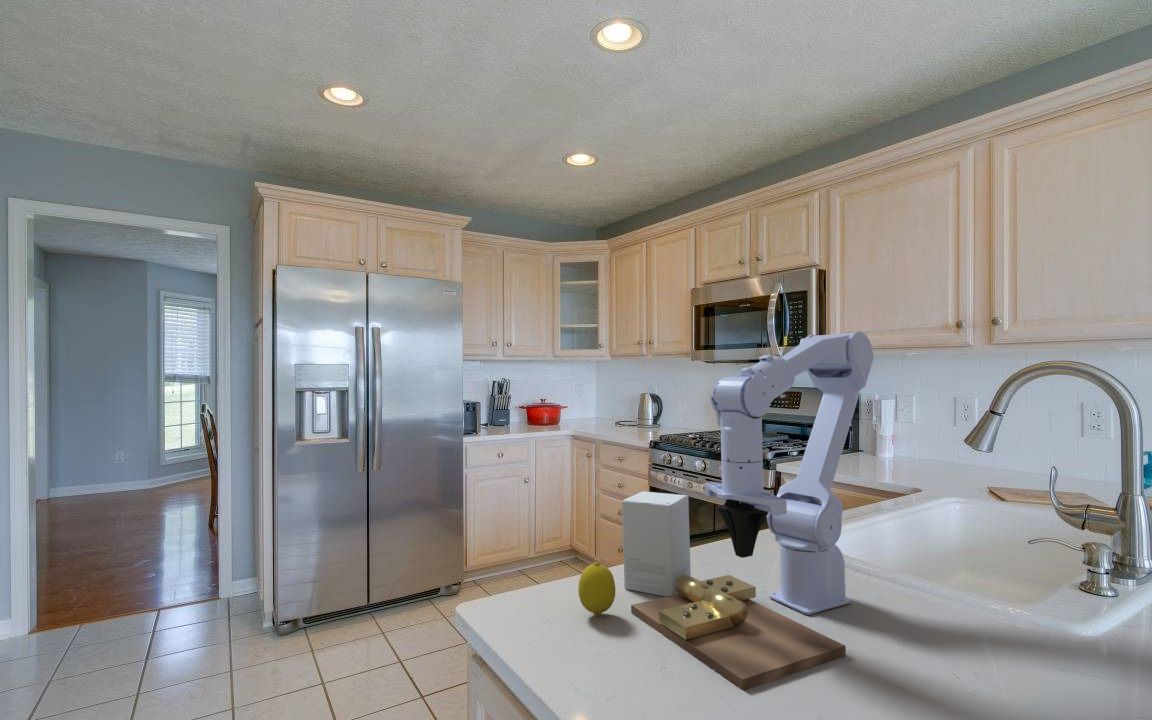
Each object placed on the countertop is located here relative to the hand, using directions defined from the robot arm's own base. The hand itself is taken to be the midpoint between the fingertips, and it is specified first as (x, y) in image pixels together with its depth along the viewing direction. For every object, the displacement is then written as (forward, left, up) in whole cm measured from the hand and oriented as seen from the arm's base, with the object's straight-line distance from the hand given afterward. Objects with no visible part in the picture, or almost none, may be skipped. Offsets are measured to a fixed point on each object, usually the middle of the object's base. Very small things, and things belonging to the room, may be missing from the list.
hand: (744, 555), depth 82 cm
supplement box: (+2, -19, -10) cm, 22 cm away
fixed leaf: (-1, -8, -8) cm, 12 cm away
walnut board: (+3, 0, -10) cm, 11 cm away
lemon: (+17, -13, -10) cm, 24 cm away
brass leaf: (+7, -1, -8) cm, 11 cm away
